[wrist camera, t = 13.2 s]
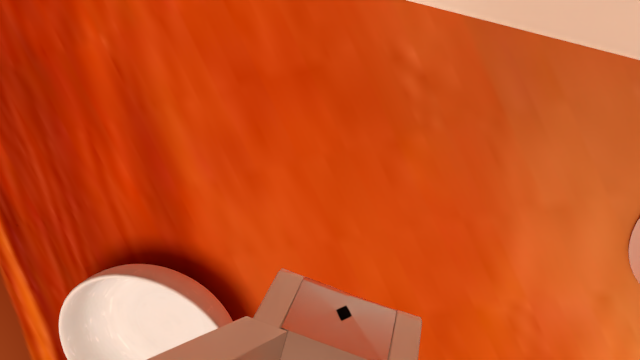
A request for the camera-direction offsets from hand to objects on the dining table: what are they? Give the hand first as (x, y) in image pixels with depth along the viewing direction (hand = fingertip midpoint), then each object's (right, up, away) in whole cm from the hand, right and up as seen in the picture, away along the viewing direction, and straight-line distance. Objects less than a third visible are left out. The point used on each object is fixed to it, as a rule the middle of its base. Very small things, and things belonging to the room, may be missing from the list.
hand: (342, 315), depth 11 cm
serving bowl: (-18, -13, +52) cm, 56 cm away
